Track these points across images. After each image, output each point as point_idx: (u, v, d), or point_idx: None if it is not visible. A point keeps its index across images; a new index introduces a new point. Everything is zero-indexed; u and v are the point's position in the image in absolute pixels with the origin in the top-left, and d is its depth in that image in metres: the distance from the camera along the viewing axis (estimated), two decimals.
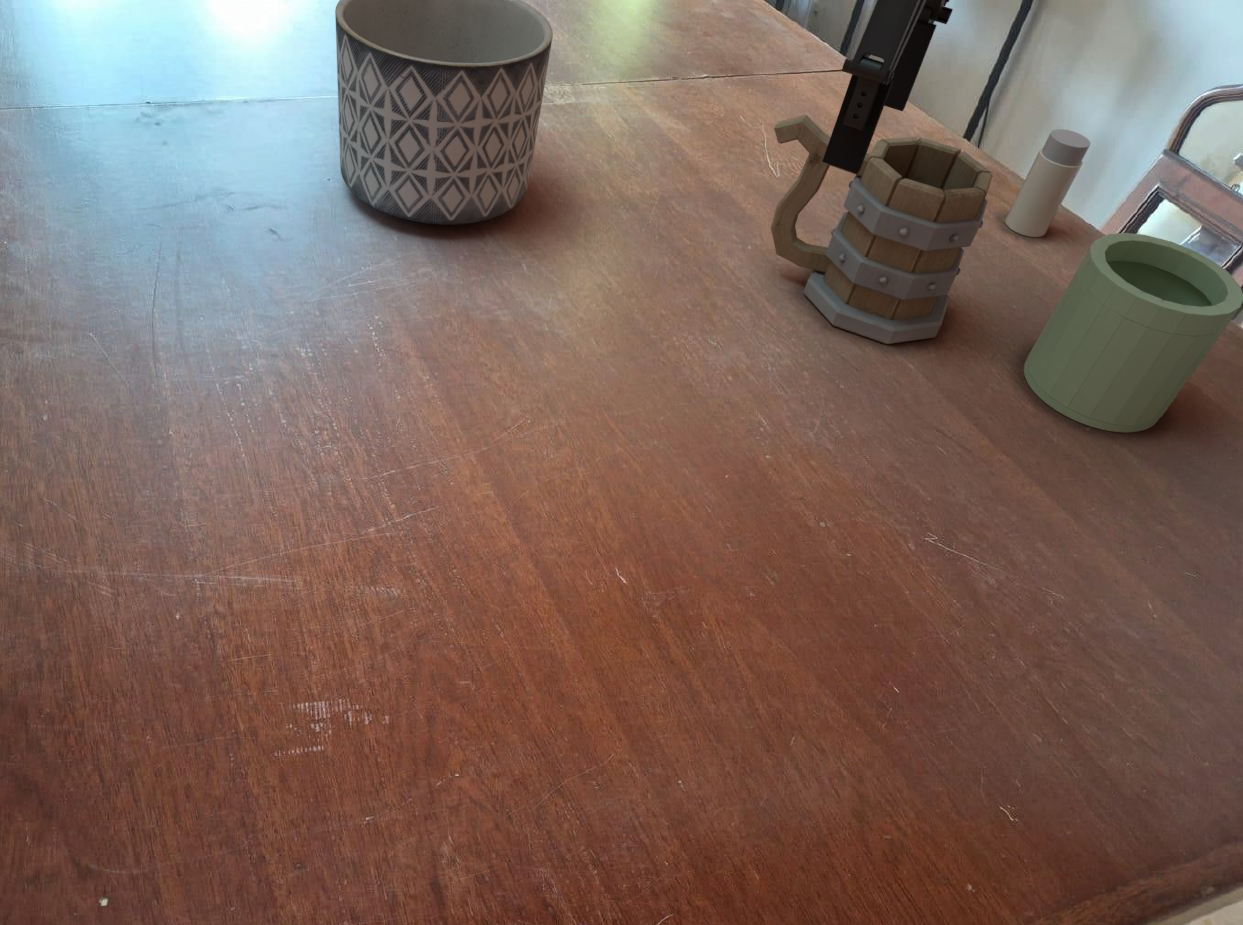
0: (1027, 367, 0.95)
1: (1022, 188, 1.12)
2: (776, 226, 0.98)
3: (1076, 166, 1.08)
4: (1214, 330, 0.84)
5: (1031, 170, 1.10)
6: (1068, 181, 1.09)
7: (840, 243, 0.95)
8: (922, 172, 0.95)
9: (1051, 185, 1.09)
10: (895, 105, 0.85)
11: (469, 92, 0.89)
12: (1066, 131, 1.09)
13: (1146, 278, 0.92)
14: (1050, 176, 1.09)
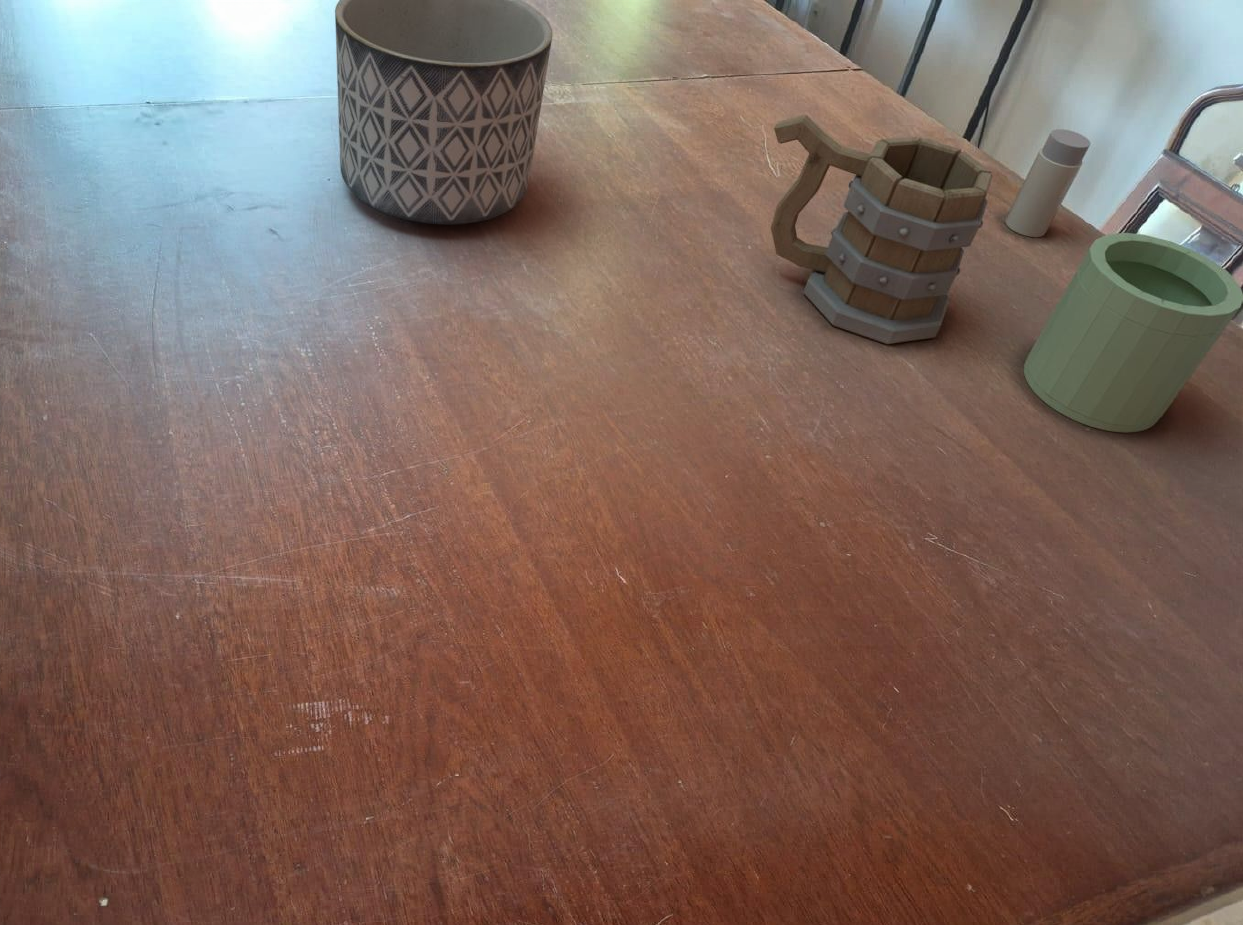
0: (1027, 367, 0.95)
1: (1022, 188, 1.12)
2: (776, 226, 0.98)
3: (1076, 166, 1.08)
4: (1214, 330, 0.84)
5: (1031, 170, 1.10)
6: (1068, 181, 1.09)
7: (840, 243, 0.95)
8: (922, 172, 0.95)
9: (1051, 185, 1.09)
10: None
11: (469, 92, 0.89)
12: (1066, 131, 1.09)
13: (1146, 278, 0.92)
14: (1050, 176, 1.09)
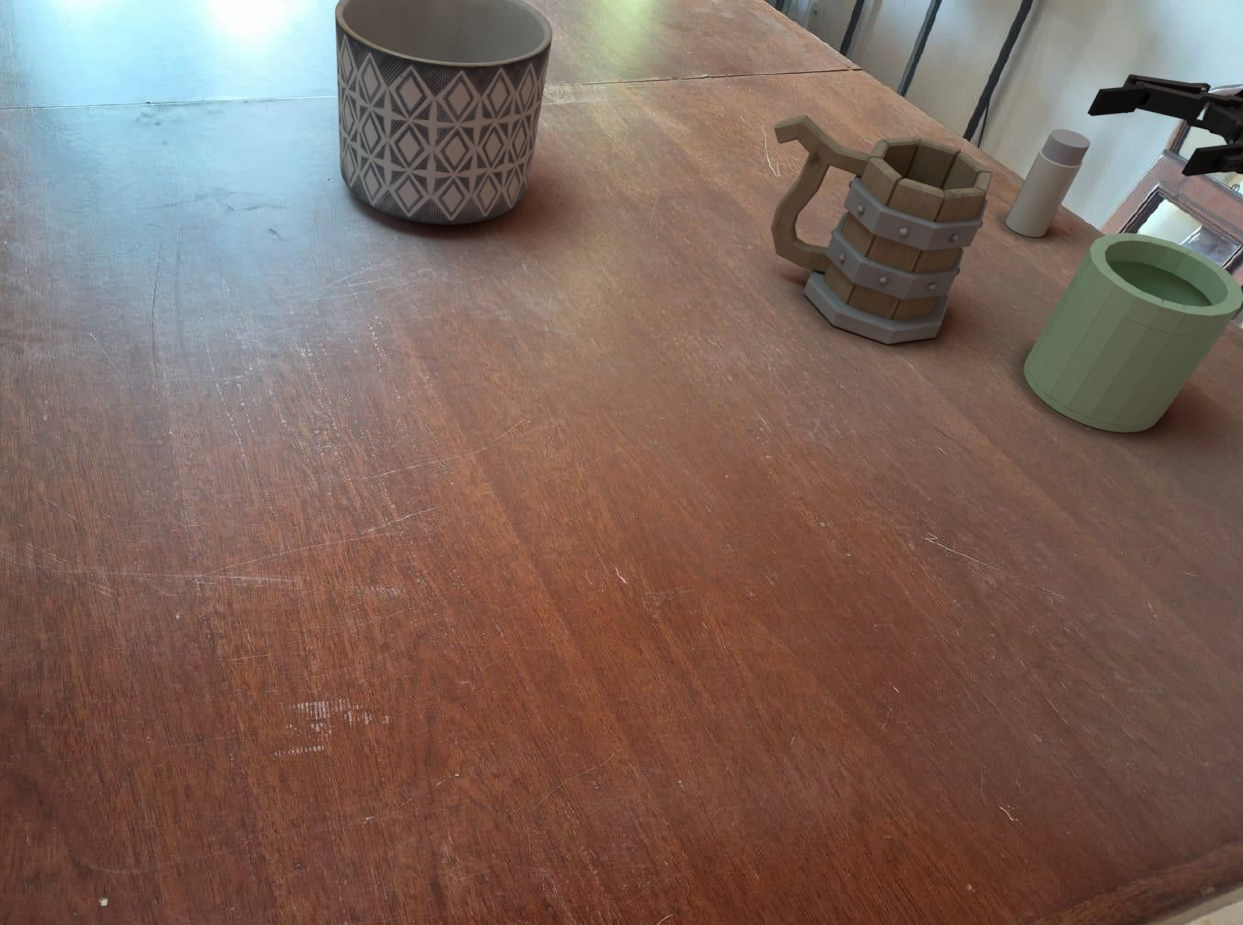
0: (1027, 367, 0.95)
1: (1022, 188, 1.12)
2: (776, 226, 0.98)
3: (1076, 166, 1.08)
4: (1214, 330, 0.84)
5: (1031, 170, 1.10)
6: (1068, 181, 1.09)
7: (840, 243, 0.95)
8: (922, 172, 0.95)
9: (1051, 185, 1.09)
10: (1194, 154, 1.08)
11: (469, 92, 0.89)
12: (1066, 131, 1.09)
13: (1146, 278, 0.92)
14: (1050, 176, 1.09)
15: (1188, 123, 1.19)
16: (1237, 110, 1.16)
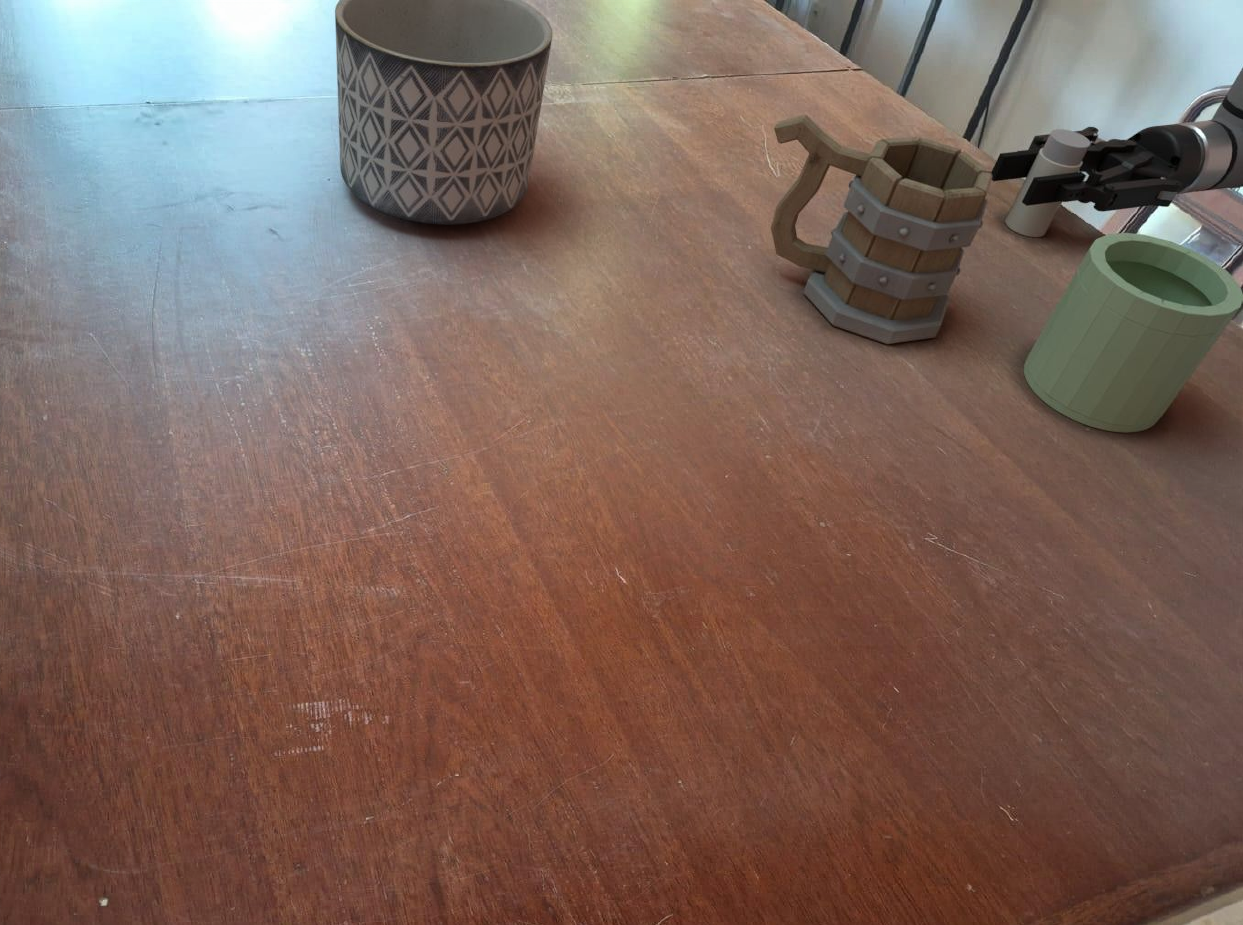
0: (1027, 367, 0.95)
1: (1022, 188, 1.12)
2: (776, 226, 0.98)
3: (1076, 166, 1.08)
4: (1214, 330, 0.84)
5: (1031, 170, 1.10)
6: None
7: (840, 243, 0.95)
8: (922, 172, 0.95)
9: None
10: (1032, 183, 1.07)
11: (469, 92, 0.89)
12: (1066, 131, 1.09)
13: (1146, 278, 0.92)
14: None
15: (1090, 174, 1.15)
16: (1130, 154, 1.14)
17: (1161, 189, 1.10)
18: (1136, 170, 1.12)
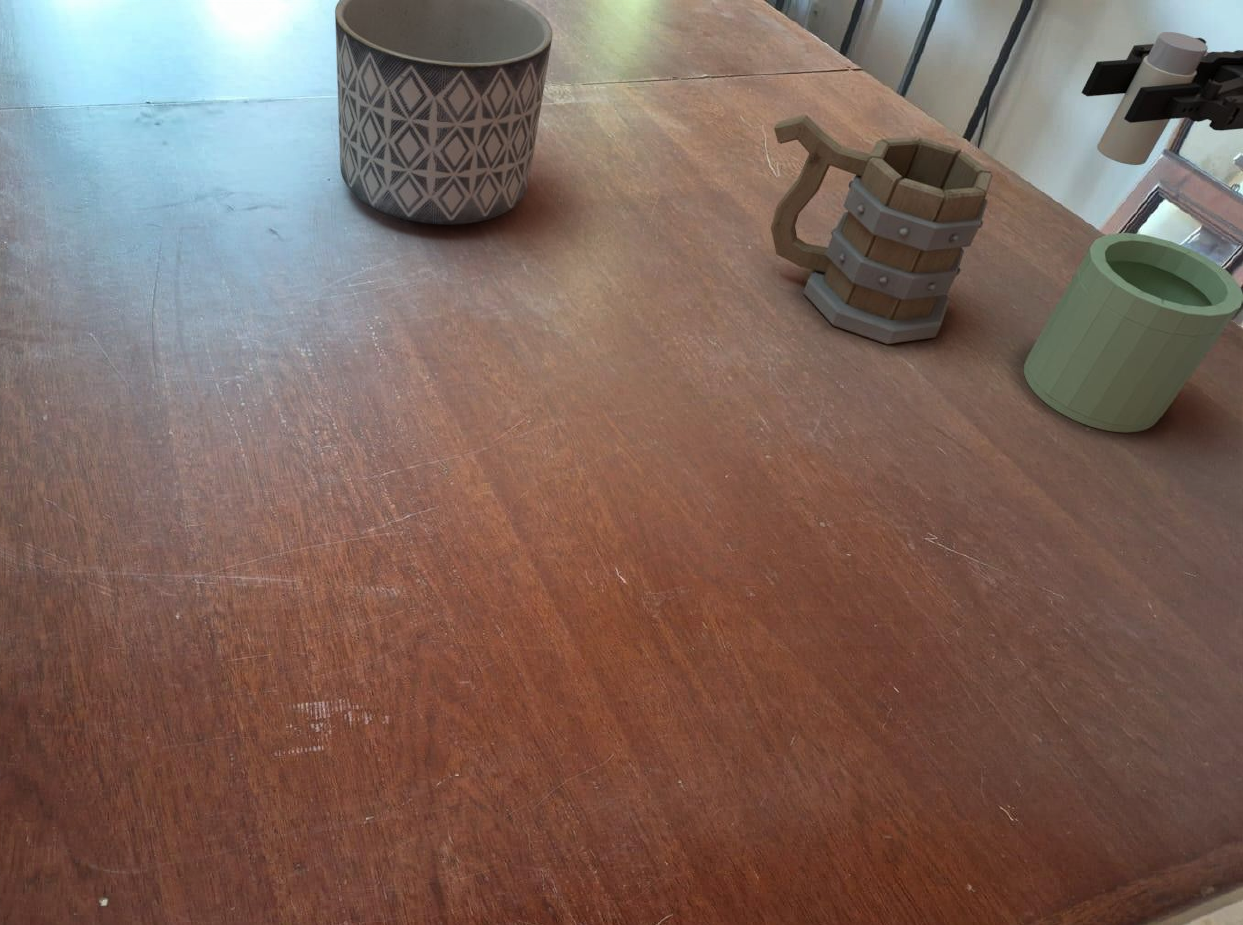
0: (1027, 367, 0.95)
1: (1120, 105, 0.94)
2: (776, 226, 0.98)
3: (1190, 75, 0.90)
4: (1214, 330, 0.84)
5: (1133, 82, 0.92)
6: None
7: (840, 243, 0.95)
8: (922, 172, 0.95)
9: None
10: (1138, 95, 0.89)
11: (469, 92, 0.89)
12: (1177, 34, 0.91)
13: (1146, 278, 0.92)
14: None
15: (1198, 92, 0.97)
16: None
17: None
18: None
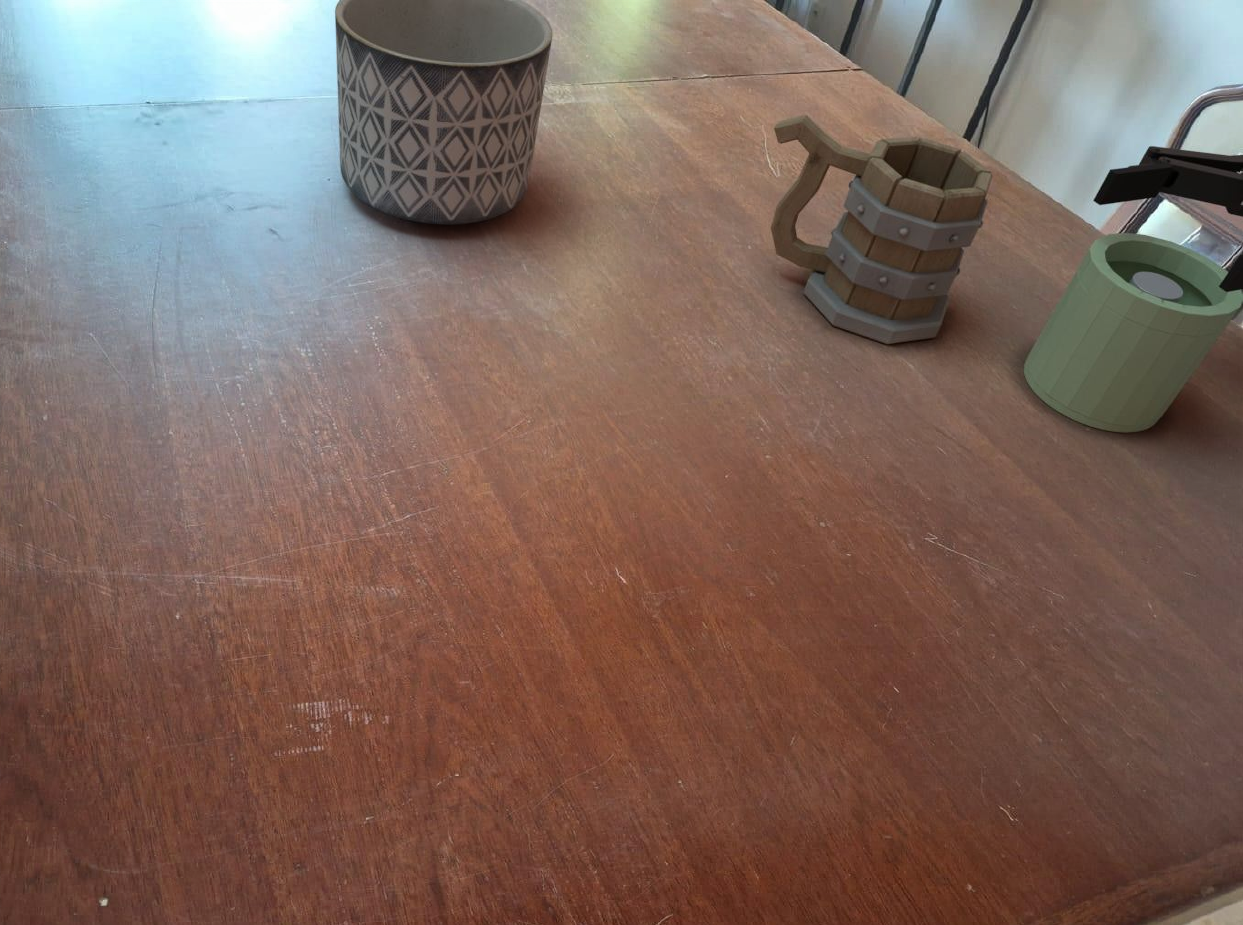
0: (1027, 367, 0.95)
1: None
2: (776, 226, 0.98)
3: None
4: (1214, 330, 0.84)
5: None
6: None
7: (840, 243, 0.95)
8: (922, 172, 0.95)
9: None
10: (1237, 262, 0.78)
11: (469, 92, 0.89)
12: (1151, 275, 0.88)
13: None
14: None
15: (1229, 211, 0.89)
16: None
17: None
18: None
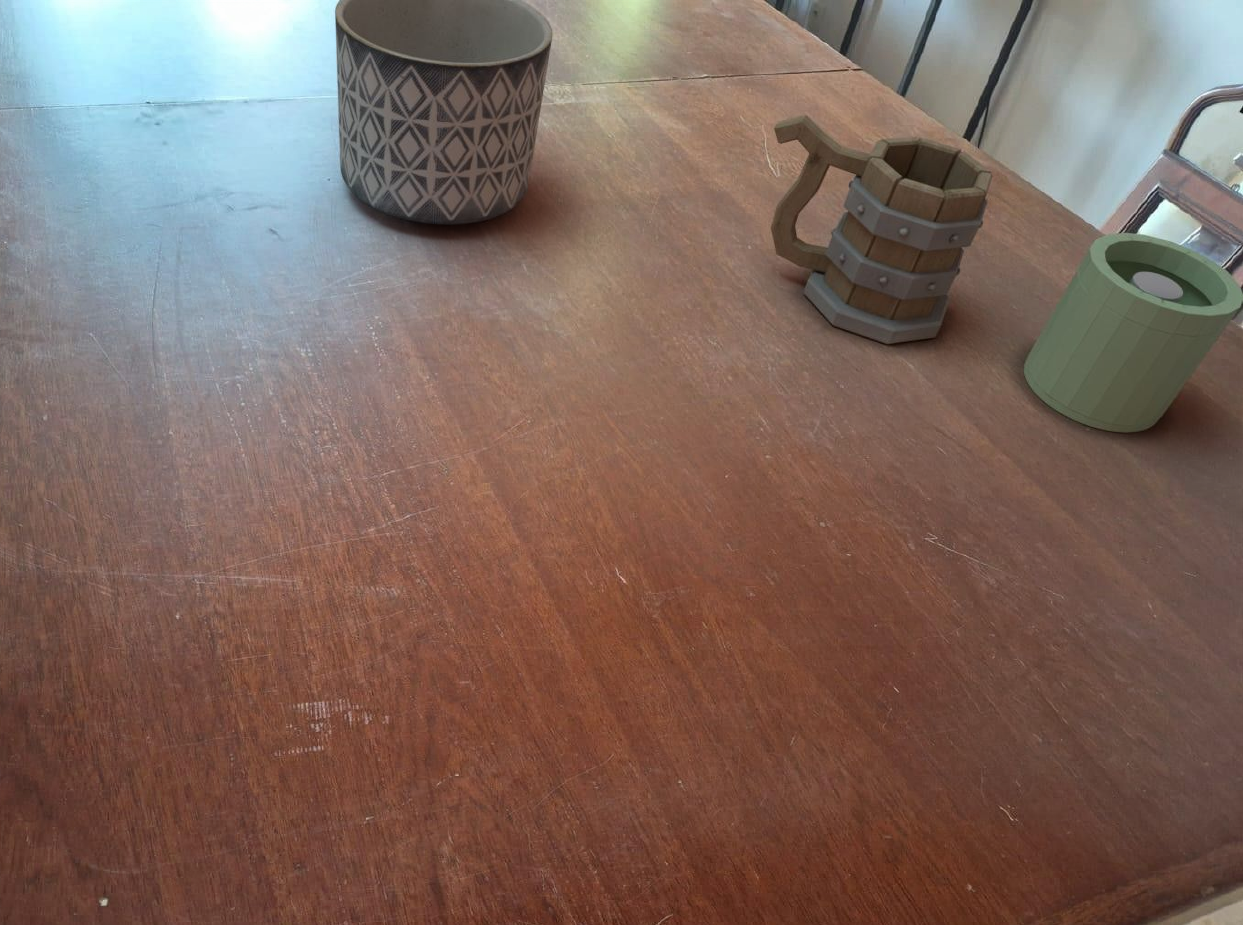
0: (1027, 367, 0.95)
1: None
2: (776, 226, 0.98)
3: None
4: (1214, 330, 0.84)
5: None
6: None
7: (840, 243, 0.95)
8: (922, 172, 0.95)
9: None
10: None
11: (469, 92, 0.89)
12: (1151, 275, 0.88)
13: None
14: None
15: None
16: None
17: None
18: None
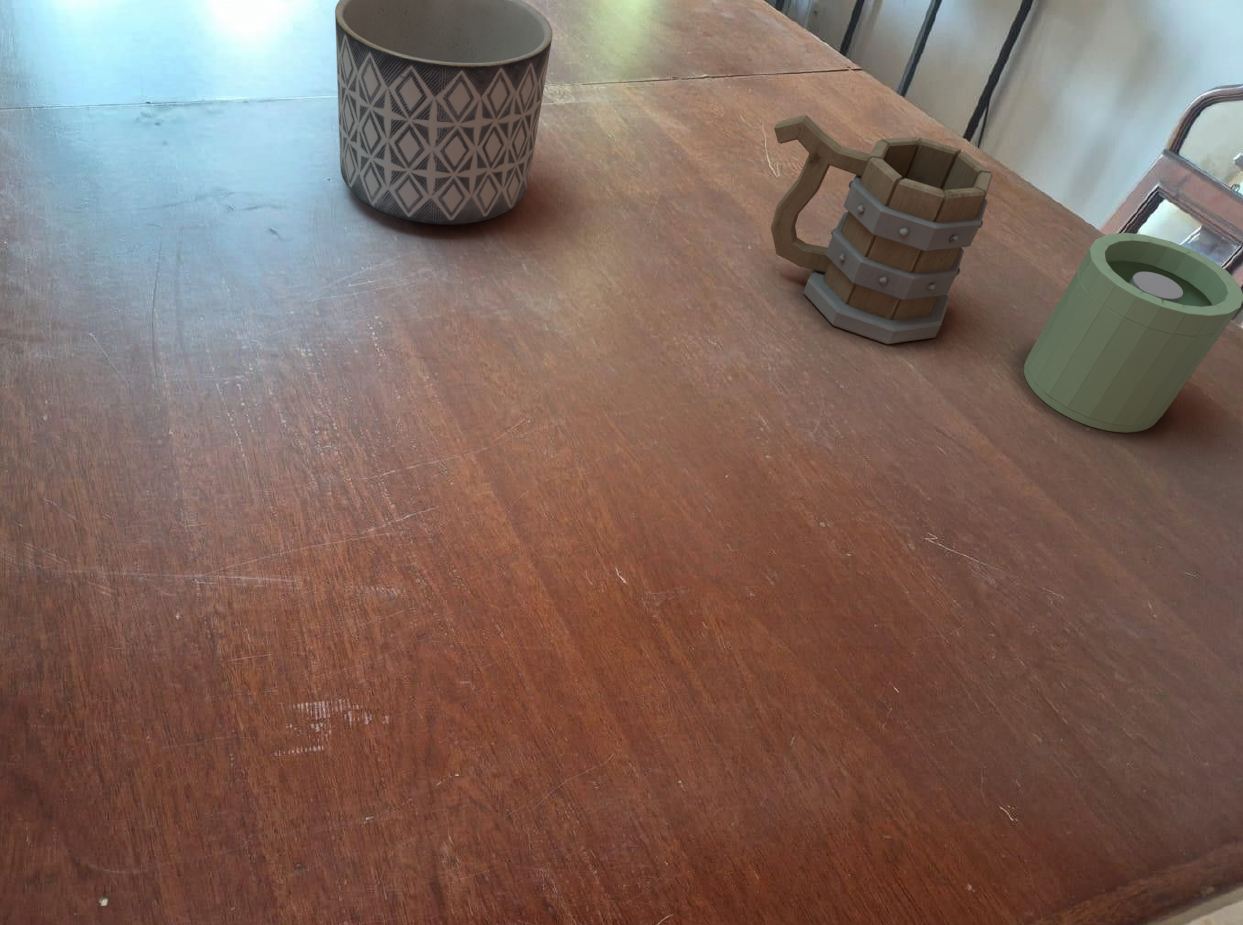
0: (1027, 367, 0.95)
1: None
2: (776, 226, 0.98)
3: None
4: (1214, 330, 0.84)
5: None
6: None
7: (840, 243, 0.95)
8: (922, 172, 0.95)
9: None
10: None
11: (469, 92, 0.89)
12: (1151, 275, 0.88)
13: None
14: None
15: None
16: None
17: None
18: None
